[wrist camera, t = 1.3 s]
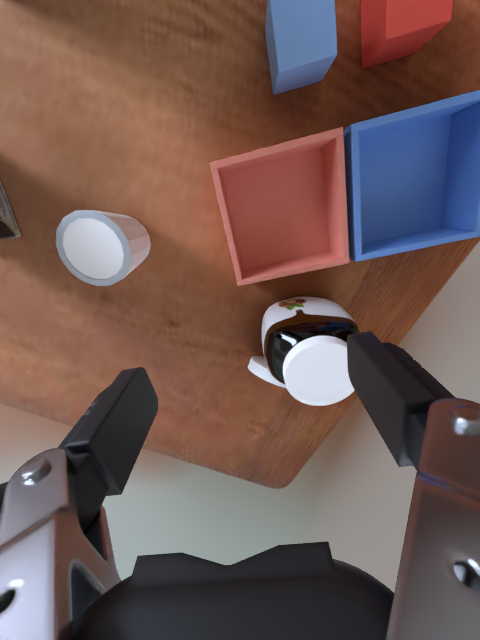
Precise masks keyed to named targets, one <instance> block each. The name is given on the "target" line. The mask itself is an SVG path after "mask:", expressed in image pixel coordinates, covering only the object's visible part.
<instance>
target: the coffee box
mask: <svg viewBox="0 0 480 640" xmlns="http://www.w3.org/2000/svg"><path fill="white" fill-rule="evenodd" d="M20 236H21V233H20V230H19V228H18V225H17V222H16V220H15V217H14V215H13V212H12V209H11V207H10V204H9V201H8V199H7V196H6V194H5V191H4V188H3V186H2V183H1V180H0V239H5V238H16V237H20Z"/></svg>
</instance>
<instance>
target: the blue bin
mask: <svg viewBox="0 0 480 640" xmlns="http://www.w3.org/2000/svg"><path fill="white" fill-rule="evenodd" d="M343 136H344V155H345V177H346V198H347V220H348V241H349V258H350V259H352V260H354V261H356V262H357V261H362V260H367V259H372V258H377V257H382V256H387V255H391V254H396V253H401V252H406V251H411V250H416V249H420V248H425V247H430V246H435V245H440V244H445V243H449V242H454V241H459V240H464V239H469V238H474V237H479V236H480V90H477V91H473V92H470V93H466V94H462V95H458V96H455V97H451V98H447V99H443V100H440V101H436V102H432V103H429V104H425V105H421V106H417V107H414V108H410V109H406V110H402V111H399V112H395V113H391V114H388V115H384V116H380V117H376V118H373V119H369V120H365V121H361V122H358V123H354V124H351V125H350V126H349V127H347V128H346V129H345V130H344V131H343Z"/></svg>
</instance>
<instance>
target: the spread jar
mask: <svg viewBox="0 0 480 640" xmlns="http://www.w3.org/2000/svg"><path fill="white" fill-rule="evenodd" d="M356 333H360V332H359V328H358V326H357V324H356V322H355V321H354V319H353V318H352V317H351V316H350V315H349V314H348V313H347V312H346V311H345V310H344V309H343V308H342V307H341V306H340V305H338V304H337V303H335V302H333V301H330V300H327V299H323V298H319V297H313V296H295V297H290V298H287V299H284V300H281V301H279V302H276V303H275V304H273V305H271V306H270V307H269V308H268V309H267V311H266V312H265V314H264V317H263V322H262V347H263V354H264V357H261V356H252V357H251V360H250V362H249V365H248V369H249V370H250V371H251V372H252V373H253V374H255V375H256V376H258V377H260V378H262V379H263V380H265V381H268V382H270V383H272V384H275V385H278V386H281V387H284V388H287V390H288V391H289V393H290V394H291V395H292V396H293V397H294V398H295V399H297V400H299V401H300V402H303V403H305V404H309V405H314V406H323V405H330V404H334V403H337V402H339V401H341V400H343V399H345V398H346V397H348V396H349V395H350V394H351V393H352V392H353V391H354V388H353V386H352V384H351V382H350V379H349V375H348V363H347V336H348V335H350V334H356Z"/></svg>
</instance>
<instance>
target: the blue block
mask: <svg viewBox="0 0 480 640" xmlns="http://www.w3.org/2000/svg"><path fill="white" fill-rule="evenodd" d="M265 37H266V44H267V52H268V60H269V67H270V75H271V82H272V90H273V95H276V94H279V93H283V92H286V91H289V90H293V89H296V88H300V87H303V86H307V85H310V84H313V83H317V82H320V81H322V80H323V78H324V76H325V74H326V73H327V71H328V69H329V68H330V66H331V64H332V63H333V61H334V59H335V57H336V56H337V35H336V15H335V0H268V3H267V14H266V24H265Z"/></svg>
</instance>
